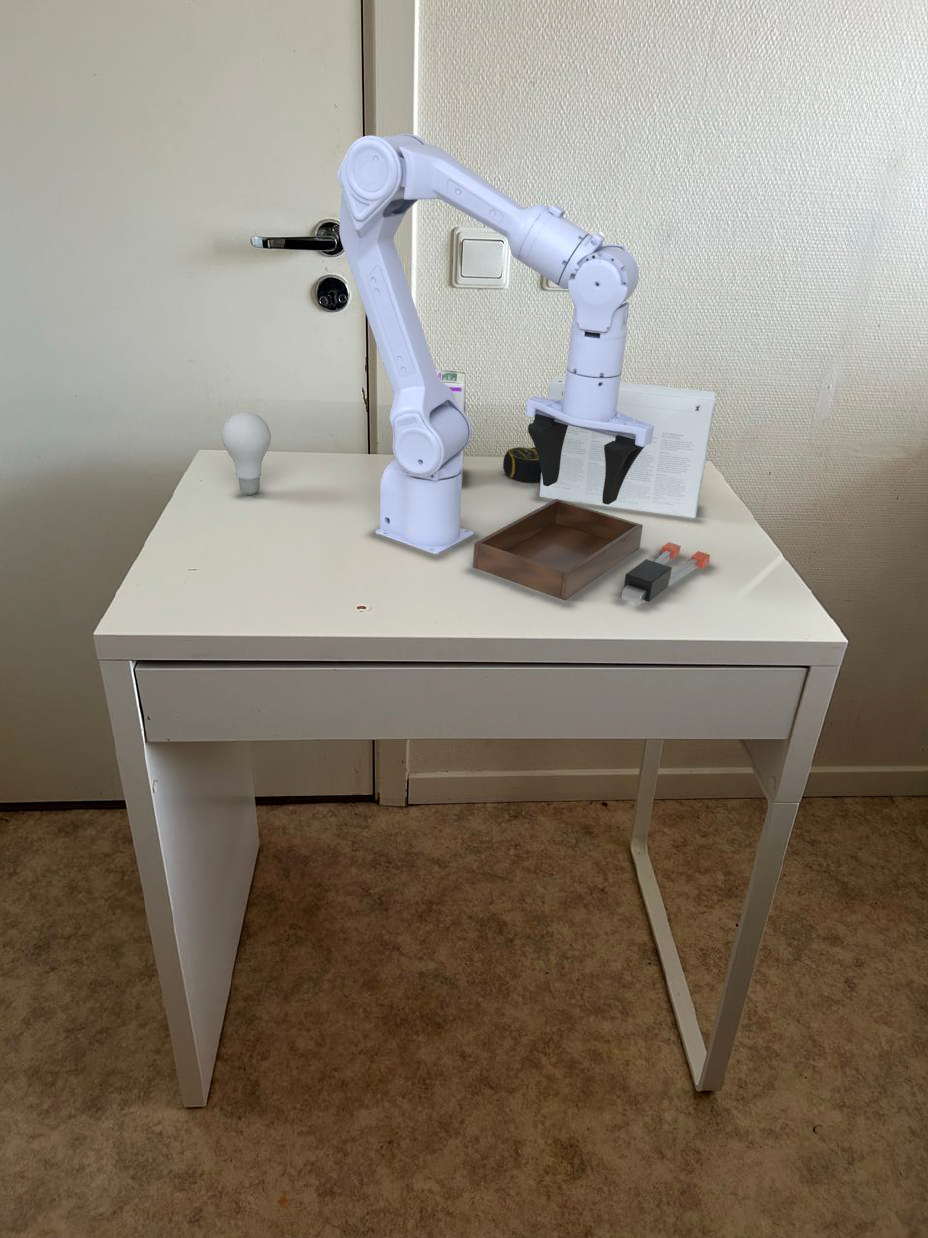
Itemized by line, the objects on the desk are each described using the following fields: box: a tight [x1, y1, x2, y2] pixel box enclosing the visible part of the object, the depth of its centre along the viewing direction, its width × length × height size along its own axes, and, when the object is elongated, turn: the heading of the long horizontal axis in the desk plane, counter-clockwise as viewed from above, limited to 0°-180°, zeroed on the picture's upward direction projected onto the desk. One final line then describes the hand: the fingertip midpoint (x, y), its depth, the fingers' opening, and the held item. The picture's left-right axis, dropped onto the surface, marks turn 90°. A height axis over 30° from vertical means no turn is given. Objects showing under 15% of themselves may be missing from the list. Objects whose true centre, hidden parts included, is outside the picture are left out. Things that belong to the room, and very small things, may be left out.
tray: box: [472, 499, 644, 601], centre depth 111 cm, size 12×18×4 cm
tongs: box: [621, 541, 711, 606], centre depth 108 cm, size 5×15×3 cm, turn 144°
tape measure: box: [502, 446, 541, 483], centre depth 135 cm, size 7×7×4 cm
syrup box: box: [436, 369, 467, 481], centre depth 130 cm, size 6×6×14 cm
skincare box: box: [538, 374, 717, 519], centre depth 125 cm, size 21×5×16 cm, turn 76°
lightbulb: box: [221, 411, 272, 496], centre depth 123 cm, size 6×6×11 cm
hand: (579, 492), depth 106 cm, fingers open, 7 cm apart
